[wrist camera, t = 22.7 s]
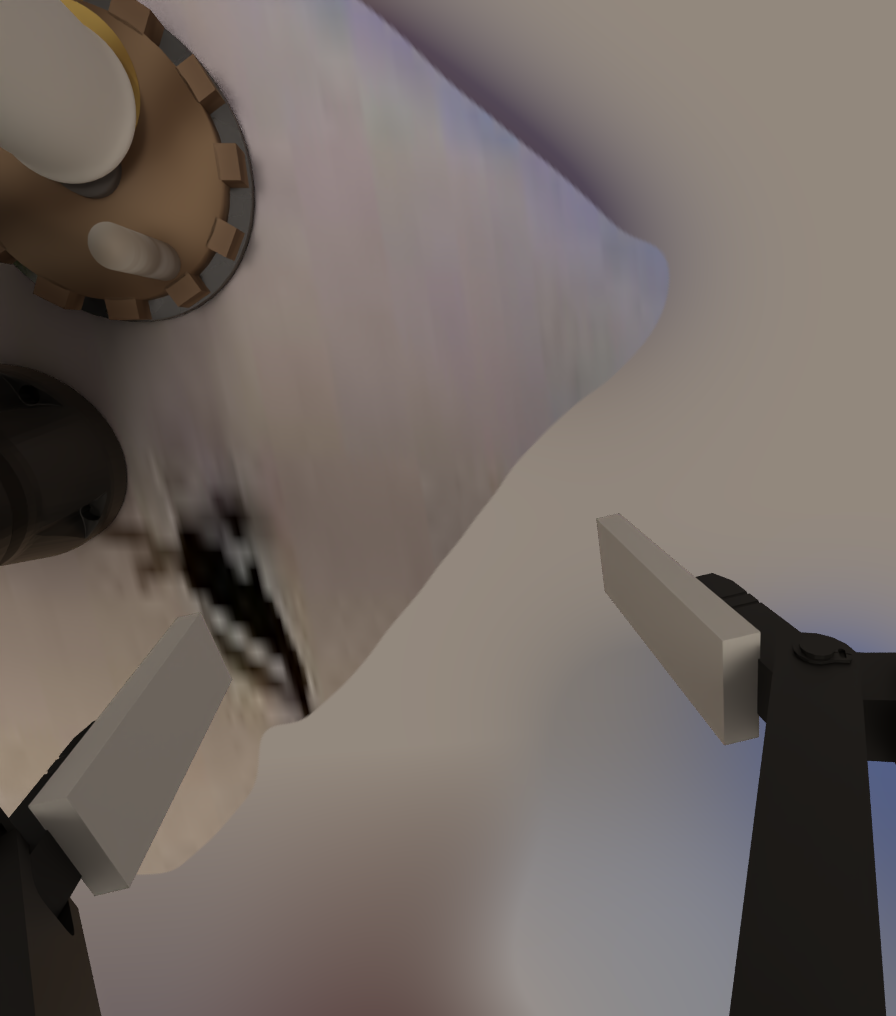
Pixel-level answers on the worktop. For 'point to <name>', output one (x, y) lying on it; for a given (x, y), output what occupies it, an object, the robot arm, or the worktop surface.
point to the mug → (61, 94)
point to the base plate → (238, 212)
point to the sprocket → (132, 188)
